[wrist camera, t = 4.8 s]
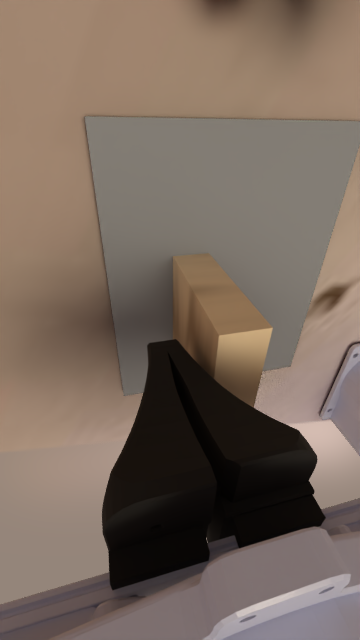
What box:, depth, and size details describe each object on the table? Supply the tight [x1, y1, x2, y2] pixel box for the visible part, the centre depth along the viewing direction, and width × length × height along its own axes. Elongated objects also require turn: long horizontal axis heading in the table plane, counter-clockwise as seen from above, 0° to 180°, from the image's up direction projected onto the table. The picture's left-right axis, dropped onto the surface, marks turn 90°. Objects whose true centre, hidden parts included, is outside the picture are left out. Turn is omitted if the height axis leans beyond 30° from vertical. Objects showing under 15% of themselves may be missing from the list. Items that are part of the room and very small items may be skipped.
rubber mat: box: [85, 116, 360, 396], centre depth 17 cm, size 16×13×1 cm
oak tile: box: [173, 253, 273, 408], centre depth 15 cm, size 6×2×7 cm, turn 0°
